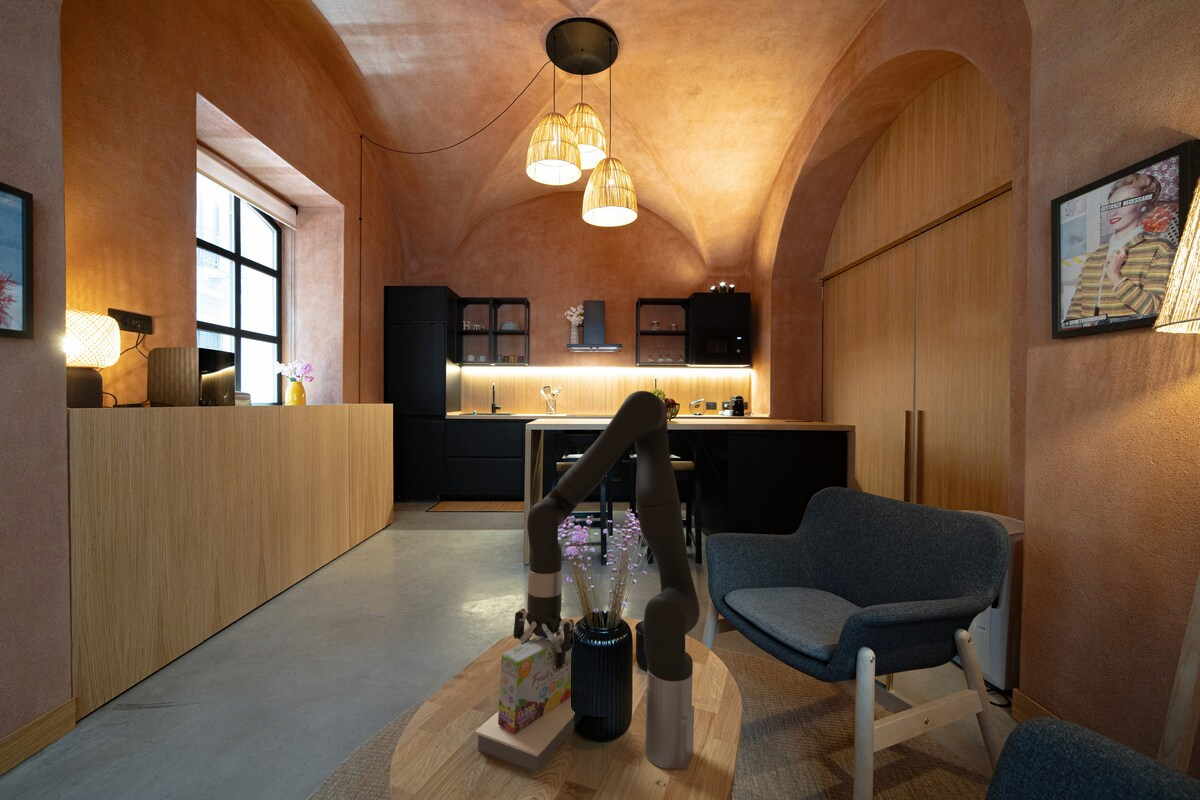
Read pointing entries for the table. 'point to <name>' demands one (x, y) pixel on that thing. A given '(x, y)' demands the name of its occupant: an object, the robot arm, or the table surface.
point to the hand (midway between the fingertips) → (542, 662)
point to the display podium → (528, 737)
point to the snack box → (531, 683)
